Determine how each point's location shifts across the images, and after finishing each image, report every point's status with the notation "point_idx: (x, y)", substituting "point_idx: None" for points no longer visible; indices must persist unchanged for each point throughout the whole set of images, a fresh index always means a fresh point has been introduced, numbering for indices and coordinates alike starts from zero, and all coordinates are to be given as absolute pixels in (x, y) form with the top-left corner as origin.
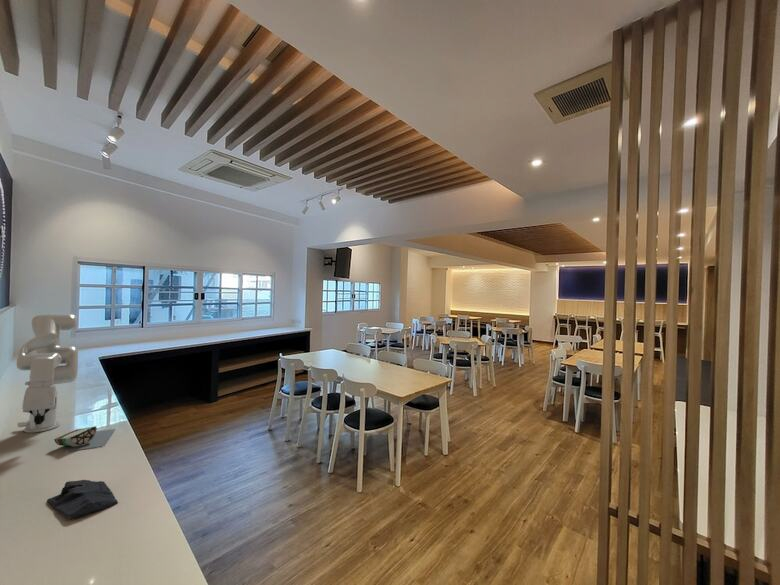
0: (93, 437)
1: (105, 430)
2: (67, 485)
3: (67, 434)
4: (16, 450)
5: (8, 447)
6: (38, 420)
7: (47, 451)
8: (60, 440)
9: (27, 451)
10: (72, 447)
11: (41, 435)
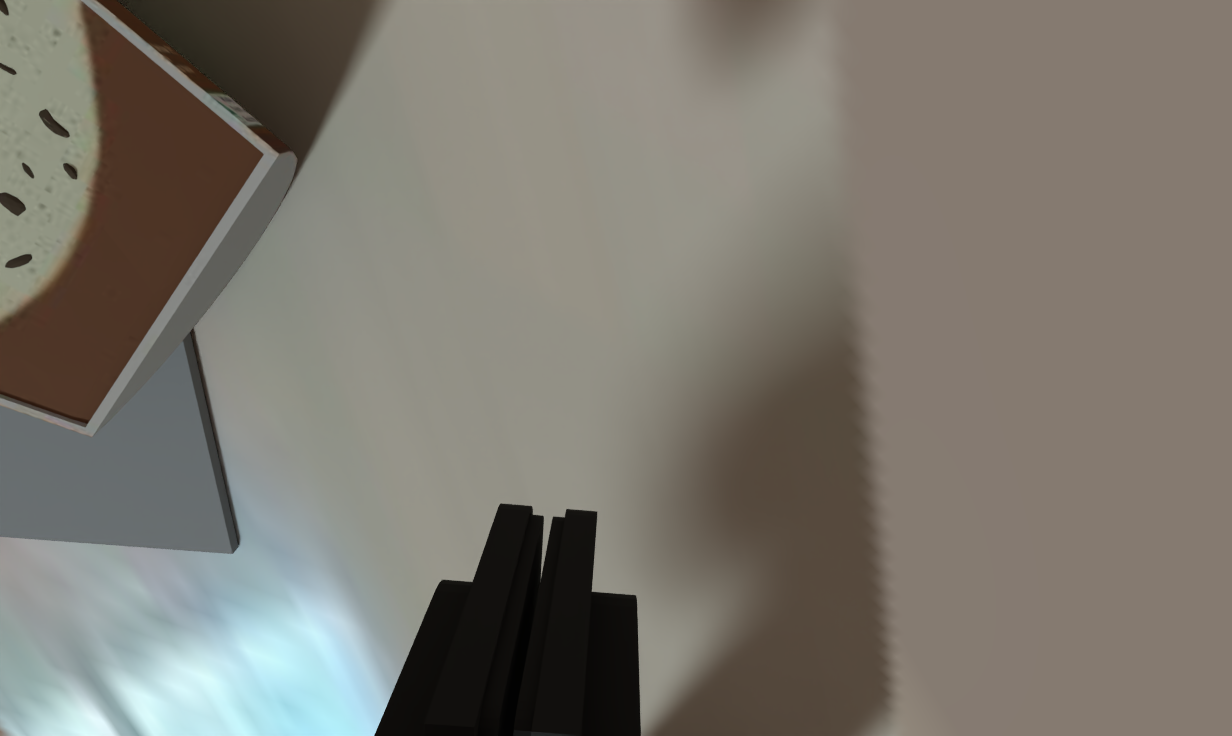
0: None
1: (3, 524)
2: None
3: (111, 243)
4: (772, 338)
5: (857, 478)
6: (520, 586)
7: (406, 81)
8: (131, 16)
9: (651, 230)
10: None
11: None
